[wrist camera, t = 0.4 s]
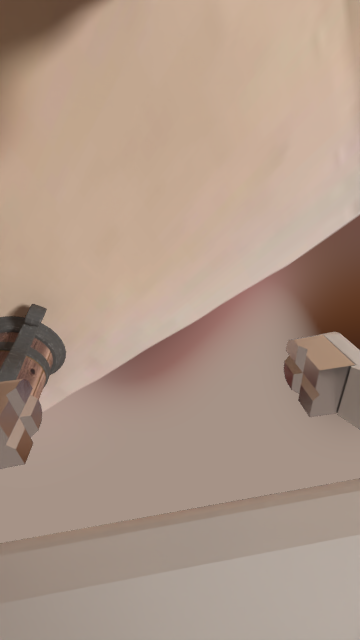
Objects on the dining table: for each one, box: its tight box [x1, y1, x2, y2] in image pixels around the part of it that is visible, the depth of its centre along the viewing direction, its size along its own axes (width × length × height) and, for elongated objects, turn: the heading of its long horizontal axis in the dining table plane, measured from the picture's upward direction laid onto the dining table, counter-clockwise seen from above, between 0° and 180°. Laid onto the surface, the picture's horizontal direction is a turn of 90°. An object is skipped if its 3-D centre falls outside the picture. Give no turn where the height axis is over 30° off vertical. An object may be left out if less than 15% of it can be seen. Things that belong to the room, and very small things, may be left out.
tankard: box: [0, 304, 66, 400], centre depth 46 cm, size 24×17×20 cm
